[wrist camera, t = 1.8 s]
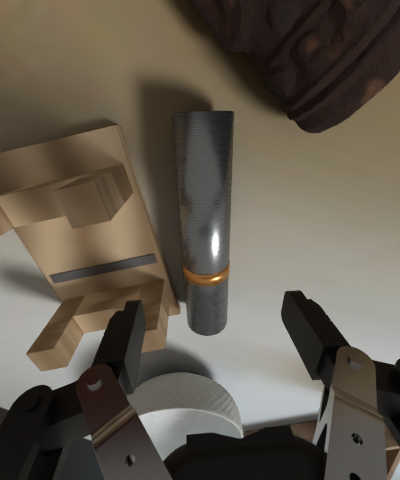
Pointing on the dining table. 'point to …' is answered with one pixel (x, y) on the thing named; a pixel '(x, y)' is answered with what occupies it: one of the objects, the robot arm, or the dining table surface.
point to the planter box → (392, 448)
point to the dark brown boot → (313, 51)
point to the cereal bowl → (184, 409)
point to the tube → (204, 213)
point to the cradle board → (86, 238)
